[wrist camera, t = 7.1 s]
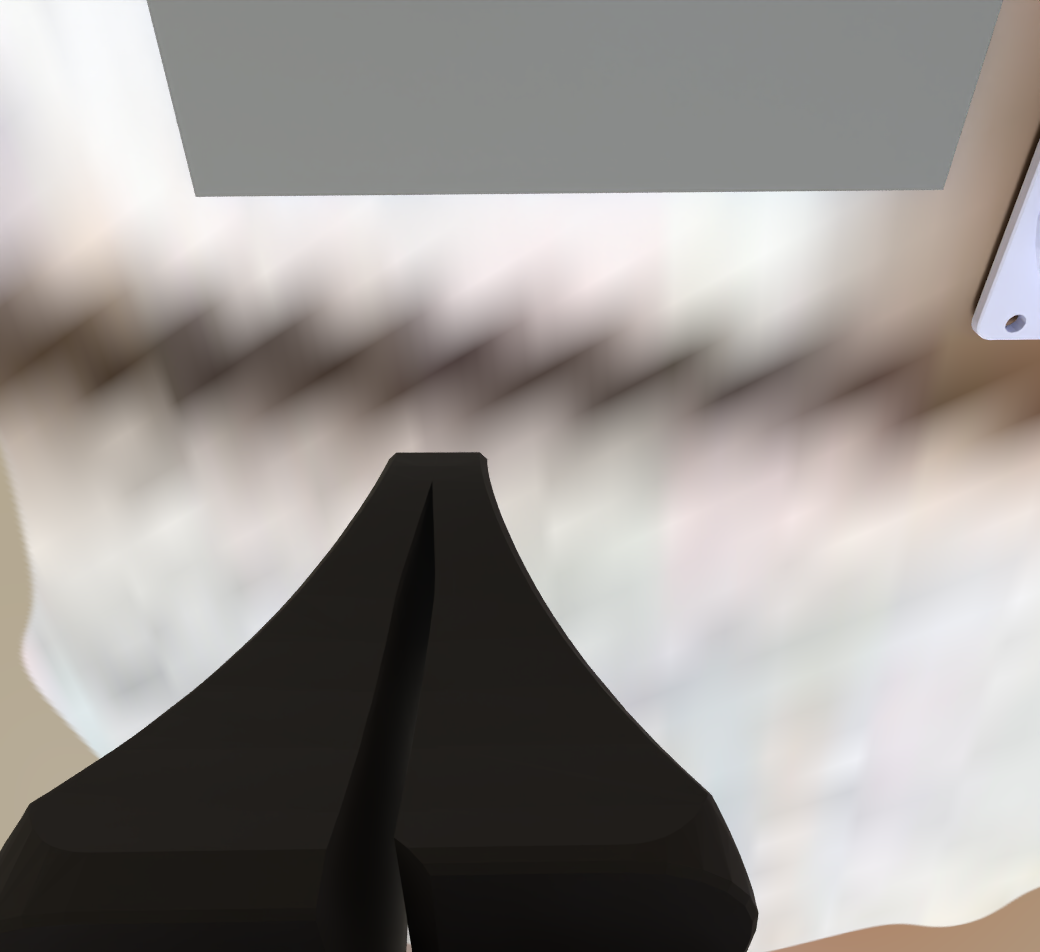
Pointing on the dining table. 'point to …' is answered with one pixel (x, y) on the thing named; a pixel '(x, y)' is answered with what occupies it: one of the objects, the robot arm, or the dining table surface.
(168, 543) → the dining table surface
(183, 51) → the mat
